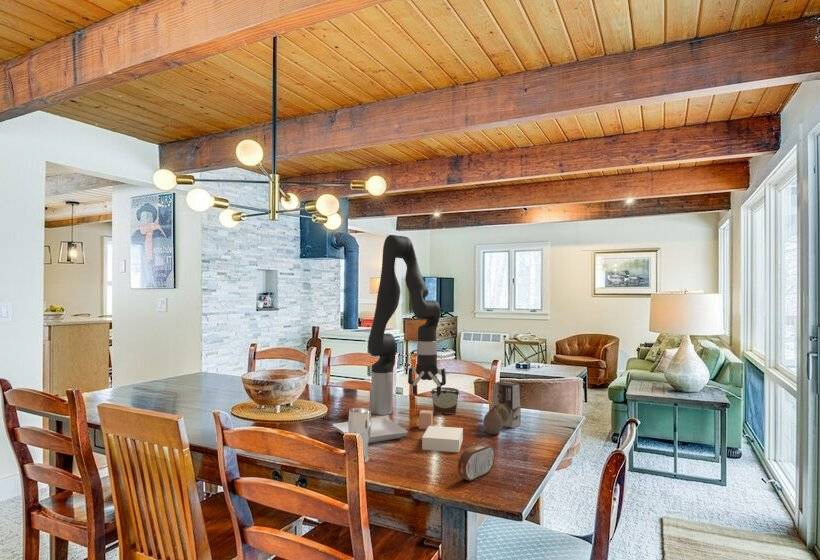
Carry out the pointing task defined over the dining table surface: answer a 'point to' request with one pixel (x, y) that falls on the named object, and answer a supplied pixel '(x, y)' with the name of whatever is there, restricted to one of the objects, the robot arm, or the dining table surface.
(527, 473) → the dining table surface
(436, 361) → the robot arm
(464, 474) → the tin
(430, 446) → the plinth
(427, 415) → the light pinkish-tan block
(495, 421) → the vase
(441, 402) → the food container
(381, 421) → the salad plate
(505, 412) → the coffee box
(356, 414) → the beer glass
